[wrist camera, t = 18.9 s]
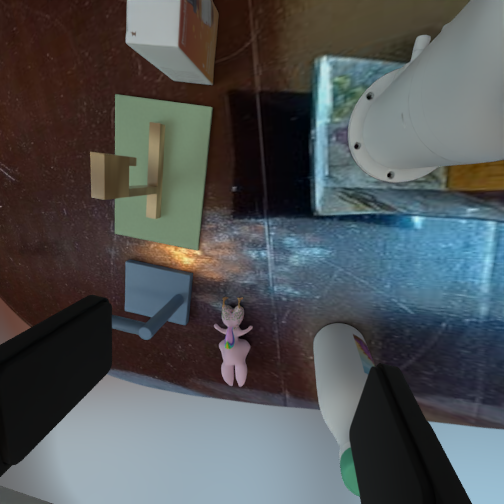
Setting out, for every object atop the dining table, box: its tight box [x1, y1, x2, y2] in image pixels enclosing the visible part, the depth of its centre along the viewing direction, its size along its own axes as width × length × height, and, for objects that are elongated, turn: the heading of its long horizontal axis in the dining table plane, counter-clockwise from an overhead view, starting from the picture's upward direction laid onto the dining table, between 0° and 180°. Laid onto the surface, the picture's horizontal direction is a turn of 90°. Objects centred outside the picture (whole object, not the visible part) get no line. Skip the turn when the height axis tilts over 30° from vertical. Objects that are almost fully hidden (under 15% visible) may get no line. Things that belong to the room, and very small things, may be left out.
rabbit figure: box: [214, 297, 253, 387], centre depth 42 cm, size 6×6×15 cm
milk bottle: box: [314, 323, 375, 497], centre depth 32 cm, size 8×8×20 cm
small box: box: [126, 0, 219, 85], centre depth 29 cm, size 8×6×10 cm
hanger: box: [90, 122, 165, 219], centre depth 33 cm, size 13×2×12 cm, turn 171°
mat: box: [115, 94, 213, 250], centre depth 39 cm, size 20×14×1 cm
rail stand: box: [112, 260, 193, 340], centre depth 39 cm, size 9×11×11 cm
